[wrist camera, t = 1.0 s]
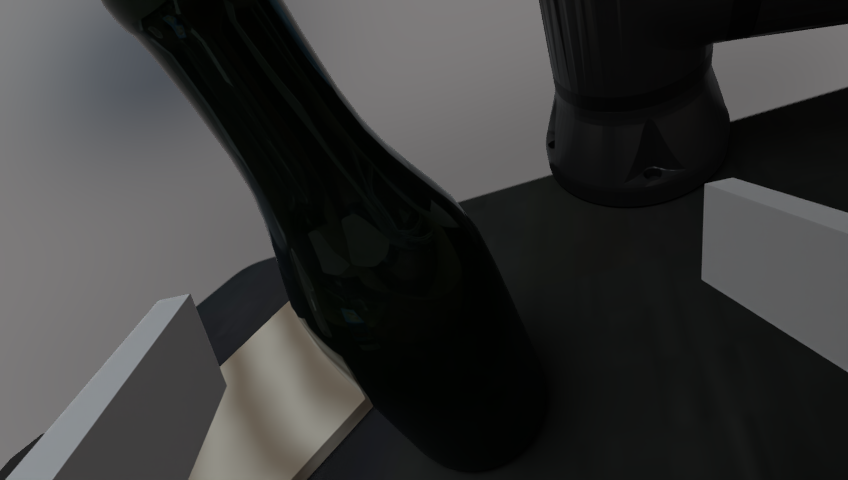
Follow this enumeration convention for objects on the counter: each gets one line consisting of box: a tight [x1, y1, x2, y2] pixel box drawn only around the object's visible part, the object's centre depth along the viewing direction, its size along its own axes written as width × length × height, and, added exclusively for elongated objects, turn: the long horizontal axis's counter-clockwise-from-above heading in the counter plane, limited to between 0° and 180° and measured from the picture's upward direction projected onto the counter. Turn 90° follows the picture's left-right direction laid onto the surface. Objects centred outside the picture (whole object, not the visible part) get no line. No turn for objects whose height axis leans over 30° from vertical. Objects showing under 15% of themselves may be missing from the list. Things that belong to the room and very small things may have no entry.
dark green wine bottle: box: [101, 0, 546, 472], centre depth 23 cm, size 10×10×33 cm
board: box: [188, 301, 373, 480], centre depth 40 cm, size 16×14×2 cm
